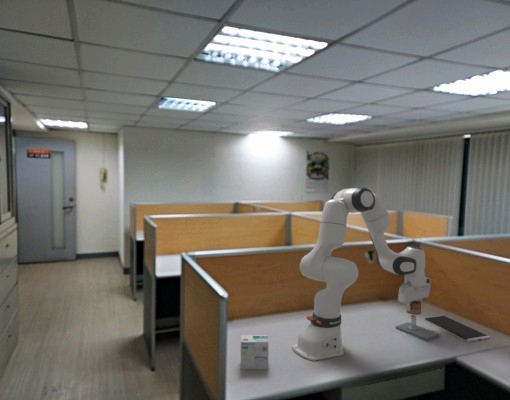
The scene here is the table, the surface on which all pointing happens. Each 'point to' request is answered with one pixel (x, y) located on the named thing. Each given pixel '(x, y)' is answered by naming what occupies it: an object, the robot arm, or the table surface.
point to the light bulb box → (254, 352)
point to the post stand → (417, 330)
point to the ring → (415, 308)
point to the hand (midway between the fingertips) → (413, 308)
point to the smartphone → (456, 328)
